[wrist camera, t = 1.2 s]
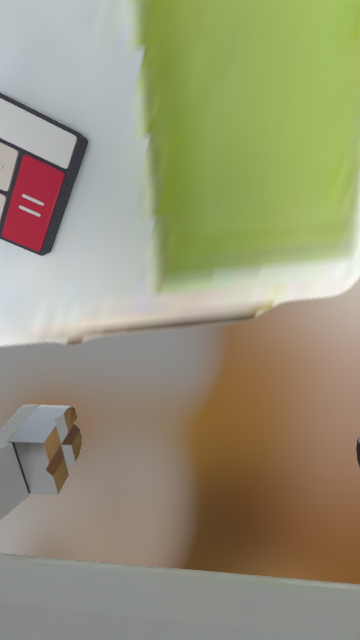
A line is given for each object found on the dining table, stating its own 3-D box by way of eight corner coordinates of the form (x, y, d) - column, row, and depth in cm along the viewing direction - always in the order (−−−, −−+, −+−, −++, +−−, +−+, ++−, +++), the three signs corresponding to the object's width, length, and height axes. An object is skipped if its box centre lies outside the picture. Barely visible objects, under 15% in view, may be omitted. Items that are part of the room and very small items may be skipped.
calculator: (-52, 219, 38) (-22, 81, 34) (-32, 217, 42) (-3, 93, 38) (41, 258, 40) (82, 133, 36) (52, 252, 44) (89, 139, 40)
